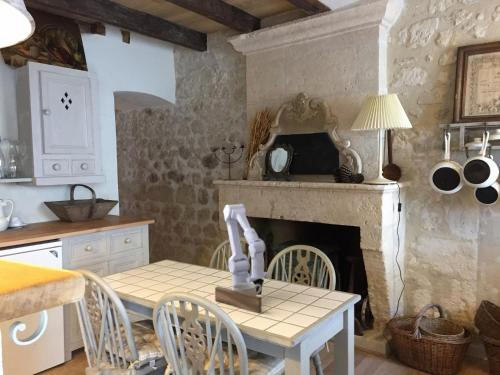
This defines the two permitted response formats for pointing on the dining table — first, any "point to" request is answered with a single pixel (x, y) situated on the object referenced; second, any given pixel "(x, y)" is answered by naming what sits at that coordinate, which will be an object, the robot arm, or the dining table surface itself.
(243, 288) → the teacup
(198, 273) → the dining table surface
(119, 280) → the dining table surface
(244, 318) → the dining table surface
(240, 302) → the wall board
